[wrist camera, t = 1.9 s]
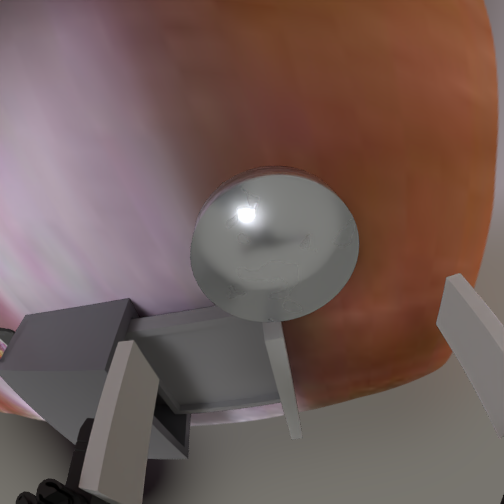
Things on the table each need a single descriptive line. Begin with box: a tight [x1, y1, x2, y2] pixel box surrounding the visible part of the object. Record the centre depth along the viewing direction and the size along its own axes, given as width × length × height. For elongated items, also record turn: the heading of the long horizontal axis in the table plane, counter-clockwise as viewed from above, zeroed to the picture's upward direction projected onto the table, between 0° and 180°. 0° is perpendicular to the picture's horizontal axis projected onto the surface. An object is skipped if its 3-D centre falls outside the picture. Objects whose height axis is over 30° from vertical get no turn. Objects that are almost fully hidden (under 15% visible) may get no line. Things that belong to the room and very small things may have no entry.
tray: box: [124, 306, 303, 440], centre depth 27 cm, size 17×14×7 cm
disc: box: [190, 166, 359, 322], centre depth 17 cm, size 9×9×2 cm
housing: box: [0, 298, 191, 459], centre depth 27 cm, size 17×14×8 cm
